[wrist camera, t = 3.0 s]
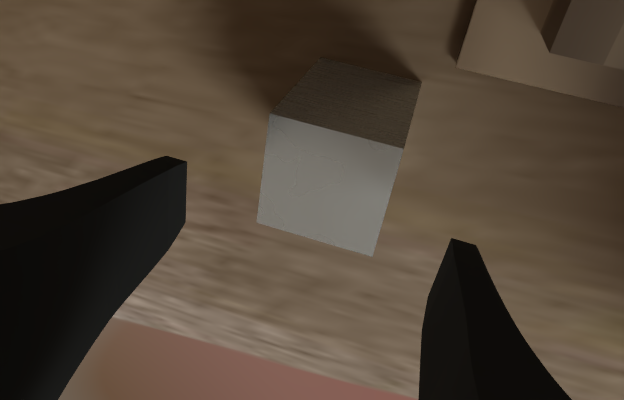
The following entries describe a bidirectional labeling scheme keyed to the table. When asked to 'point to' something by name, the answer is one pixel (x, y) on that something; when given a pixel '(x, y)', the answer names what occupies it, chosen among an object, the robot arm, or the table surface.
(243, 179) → the table surface
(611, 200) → the table surface
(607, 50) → the socket block
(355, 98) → the block
